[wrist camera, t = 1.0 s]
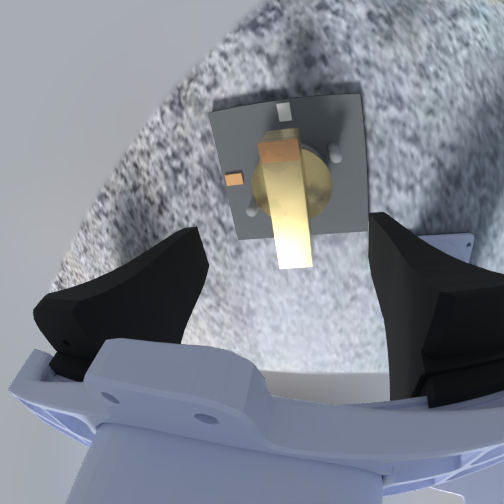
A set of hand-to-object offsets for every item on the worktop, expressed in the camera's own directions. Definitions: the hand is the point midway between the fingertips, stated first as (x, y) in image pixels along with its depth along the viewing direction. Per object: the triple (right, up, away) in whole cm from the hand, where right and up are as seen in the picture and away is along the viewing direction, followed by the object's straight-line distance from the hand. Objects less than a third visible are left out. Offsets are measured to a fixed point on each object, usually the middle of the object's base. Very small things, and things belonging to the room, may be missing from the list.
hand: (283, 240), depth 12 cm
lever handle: (+1, +4, +5) cm, 7 cm away
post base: (+2, +5, +8) cm, 10 cm away
